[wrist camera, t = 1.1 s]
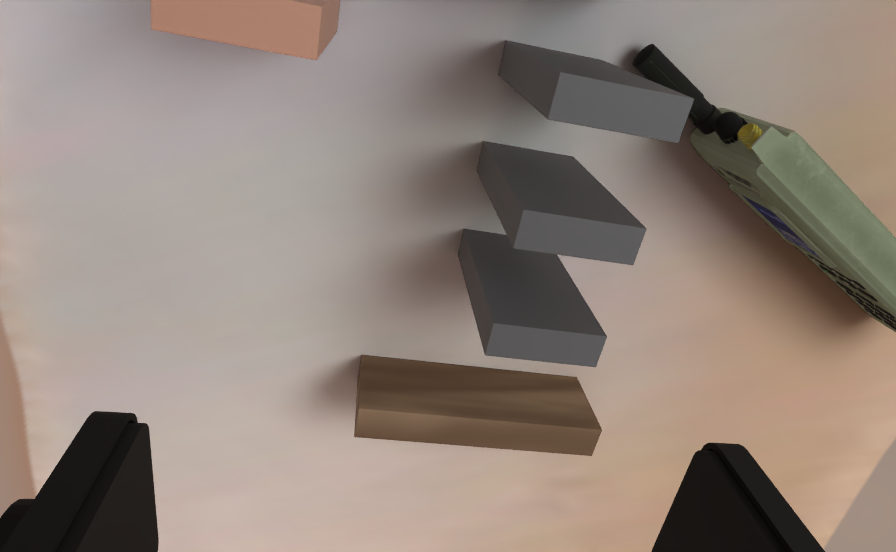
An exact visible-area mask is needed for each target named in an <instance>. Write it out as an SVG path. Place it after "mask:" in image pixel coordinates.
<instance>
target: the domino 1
mask: <svg viewBox="0 0 896 552" xmlns="http://www.w3.org/2000/svg"><path fill="white" fill-rule="evenodd" d="M339 8H340V0H151V29H153V30H158V31H163V32H169V33H174V34H179V35H185V36H190V37H195V38H201V39H206V40H211V41H217V42H222V43H227V44H233V45H238V46H243V47H248V48H254V49H259V50H264V51H270V52H275V53H280V54H286V55H291V56H296V57H302V58H307V59H312V60H317V59H318V58H319V56H320V55H321V54H322V52H323V51H324V49H325V48H326V46H327V45H328V44H329V42H330V41H331V39H332V38H333V37H334V35H335V34H336V32H337V27H338V17H339Z"/></svg>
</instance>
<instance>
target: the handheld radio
mask: <svg viewBox="0 0 896 552" xmlns="http://www.w3.org/2000/svg"><path fill="white" fill-rule="evenodd" d="M633 66H634V67H635V68H636V69H637V70H638V71H639V72H641V73H642V74H643V75H644V76H645V77H646V78H647V79H648V80H650V81H653V82H655V83H658V84H660V85H662V86H665V87H667V88H670V89H672V90H674V91H677V92H679V93H682V94H684V95H686V96H689V97H691V98H694V101H693V104H692V107H691V109H690V112H689V115H688V117H689V118H690V119H691V120H692V121H693V124H694V125H695V126H696V127H697V128H696V129H695V130H694V131H693V132H692V134H691V137H690V141H691V144H692V145H693V147H694V148H695V149H696V151H697V152H698V153H699V154H700V155H701V156H702V157H703V159H704V160H705V161H706V162H708V163H709V164H710V165H711V166H712V167H713V168H714V169H715V170H716V171H717V172H718V173H719V174H720V175H721V176H722V177H723V178H724V179H725V180H726V181H727V182H728V183H729V189H731V190H732V191H733V192H735V193H736V194H737V195H738V196H739V197H740V198H741V199H742V200H743V201H744V202H745V203H746V204H747V205H748V206H749V207H750V208H751V209H753V210H754V211H755V212H756V213H757V214H758V215H759V216H760V217H761V218H762V219H763V220H764V221H765V222H766V223H767V224H768V225H769V226H770V227H772V228H773V229H774V230H775V231H776V232H777V233H778V234H779V235H780V236H781V237H782V238H783V239H784V241H787V242H789V243H790V244H792V245H794V246H795V247H797V248H798V249H799V250H800V251H801V252H802V253H804V254H805V255H806V256H807V257H808V258H809V259H810V260H811V261H812V262H813V263H814V264H815V265H816V266H817V267H818V268H820V269H821V270H822V271H823V272H824V273H825V274H826V275H827V276H828V277H829V278H830V279H831V280H832V281H833V282H835V283H836V284H837V285H838V286H839V287H840V288H841V289H842V290H843V291H844V292H845V293H846V294H847V295H848V296H849V297H851V298H852V299H853V300H854V301H855V302H856V303H857V304H858V305H859V306H860V307H861V308H862V309H863V310H864V311H866V312H867V313H868V314H869V315H870V316H871V317H873V318H874V319H876V320H877V321H879V322H881V323H882V324H884V325H885V326H887V327H888V328H890V329H892V330H893V331H895V332H896V238H895V237H894V236H893V235H892V233H891V232H890V231H889V230H888V229H887V228H886V227H885V226H884V225H883V224H882V223H881V222H880V221H879V220H878V218H877V217H876V216H875V215H874V214H873V213H872V212H871V211H870V210H869V209H868V208H867V207H866V206H865V205H864V203H863V202H862V201H861V200H860V199H859V198H858V197H857V196H856V195H855V194H854V193H853V192H852V191H851V190H850V188H849V187H848V186H847V185H846V184H845V183H844V182H843V181H842V180H841V179H840V178H839V177H838V176H837V175H836V173H835V172H834V171H833V170H832V169H831V168H830V167H829V166H828V165H827V164H826V163H825V162H824V161H823V160H822V158H821V157H820V156H819V155H818V154H817V153H816V152H815V151H814V150H813V149H812V148H811V147H810V146H809V145H808V143H807V142H806V141H805V140H804V139H803V138H802V137H801V136H800V135H799V134H797V133H796V132H795V131H793V130H790V129H787V128H784V127H781V126H778V125H775V124H771V123H768V122H765V121H762V120H759V119H756V118H753V117H750V116H747V115H744V114H741V113H738V112H735V111H732V110H728V109H725V108H719V109H717V108H716V107H715V106H714V105H711V104H710V103H709V102H708V101H707V100H706V99H705V98H704V95H703V94H702V93H701V92H700V91H699V90H698V89H697V88H696V87H695V86H694V85H693V84H692V83H691V82H690V81H689V80H688V79H687V78H686V77H685V76H684V75H683V74H682V73H681V72H680V71H679V70H678V69H677V68H676V67H675V66H674V65H673V63H672V62H671V61H670V60H669V59H668V58H667V57H666V56H665V55H664V54H663V53H662V52H661V51H660V50H659V49H658V48H657V47H656V46H655V45H654V44H651V45H648V46H647V47H645V48H644V49H643V50H642V51H641V52H640V53H639V54H638V55H637V56H636V58H635V59H634V62H633Z"/></svg>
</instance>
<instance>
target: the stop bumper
mask: <svg viewBox="0 0 896 552" xmlns="http://www.w3.org/2000/svg"><path fill="white" fill-rule="evenodd" d="M601 431H602V429H601V427H600V425H599V423H598V421H597V418H596V416H595V414H594V412H593V410H592V408H591V406H590V404H589V402H588V400H587V398H586V395H585V393H584V391H583V389H582V387H581V385H580V383H579V381H578V379H577V377H568V376H558V375H549V374H539V373H530V372H520V371H510V370H501V369H491V368H482V367H472V366H462V365H453V364H443V363H434V362H424V361H414V360H405V359H395V358H386V357H376V356H366V355H362V356H361V363H360V369H359V375H358V382H357V399H356V417H355V434H354V437H362V438H374V439H387V440H399V441H412V442H424V443H437V444H449V445H462V446H474V447H487V448H499V449H512V450H524V451H537V452H549V453H562V454H574V455H587V456H592V454H593V451H594V449H595V446H596V444H597V441H598V439H599V436H600V434H601Z"/></svg>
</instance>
